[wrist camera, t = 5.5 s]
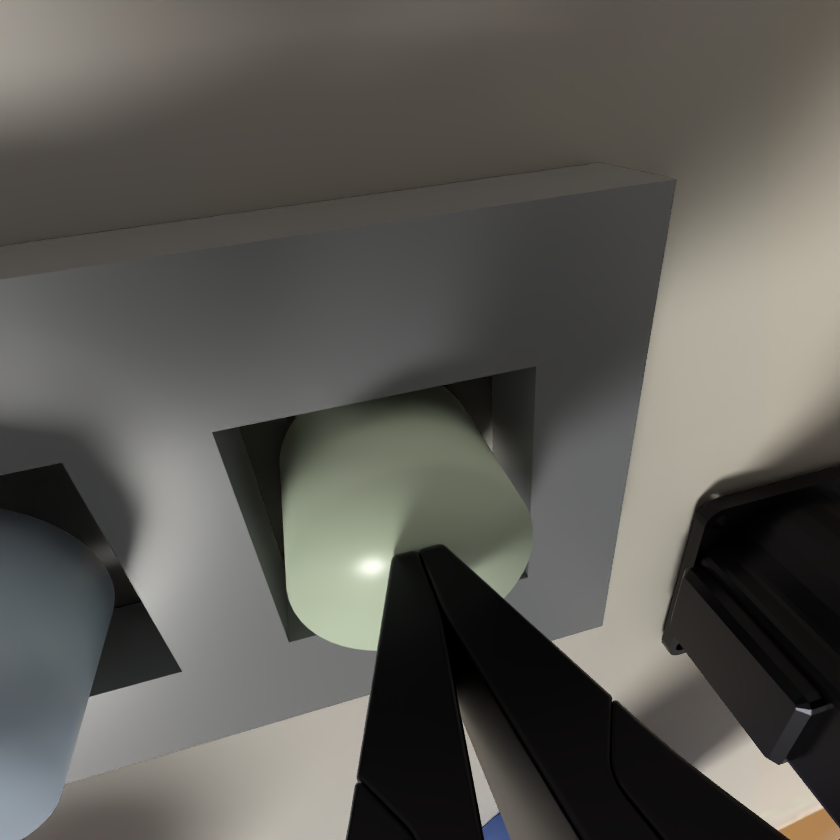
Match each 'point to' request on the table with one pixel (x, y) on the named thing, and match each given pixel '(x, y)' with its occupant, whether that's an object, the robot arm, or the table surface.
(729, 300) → the table surface
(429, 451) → the sage button
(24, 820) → the blue button
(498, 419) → the button panel
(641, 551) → the table surface
